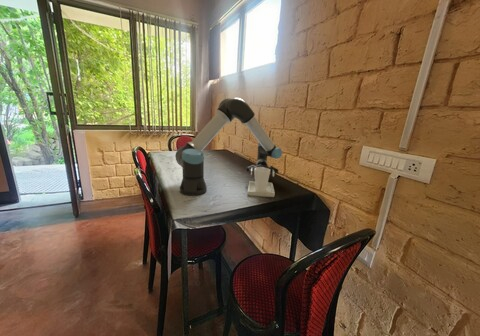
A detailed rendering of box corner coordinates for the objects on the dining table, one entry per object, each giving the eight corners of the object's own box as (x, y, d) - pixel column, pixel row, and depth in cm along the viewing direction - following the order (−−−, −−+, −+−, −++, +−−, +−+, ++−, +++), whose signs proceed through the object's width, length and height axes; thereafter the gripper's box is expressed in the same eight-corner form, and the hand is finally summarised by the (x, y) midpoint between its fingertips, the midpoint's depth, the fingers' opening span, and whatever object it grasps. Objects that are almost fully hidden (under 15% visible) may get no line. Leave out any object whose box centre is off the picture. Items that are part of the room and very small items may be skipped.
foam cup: (267, 193, 116) (269, 172, 112) (251, 192, 117) (253, 170, 114) (268, 188, 125) (270, 168, 121) (254, 186, 126) (255, 166, 123)
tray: (247, 195, 114) (247, 191, 113) (248, 184, 131) (249, 181, 131) (274, 197, 113) (274, 193, 112) (272, 186, 130) (272, 182, 130)
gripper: (279, 171, 143) (282, 181, 123) (244, 169, 145) (241, 178, 125) (280, 161, 141) (283, 169, 121) (244, 158, 143) (242, 166, 123)
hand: (262, 173), depth 123 cm, fingers open, 13 cm apart
